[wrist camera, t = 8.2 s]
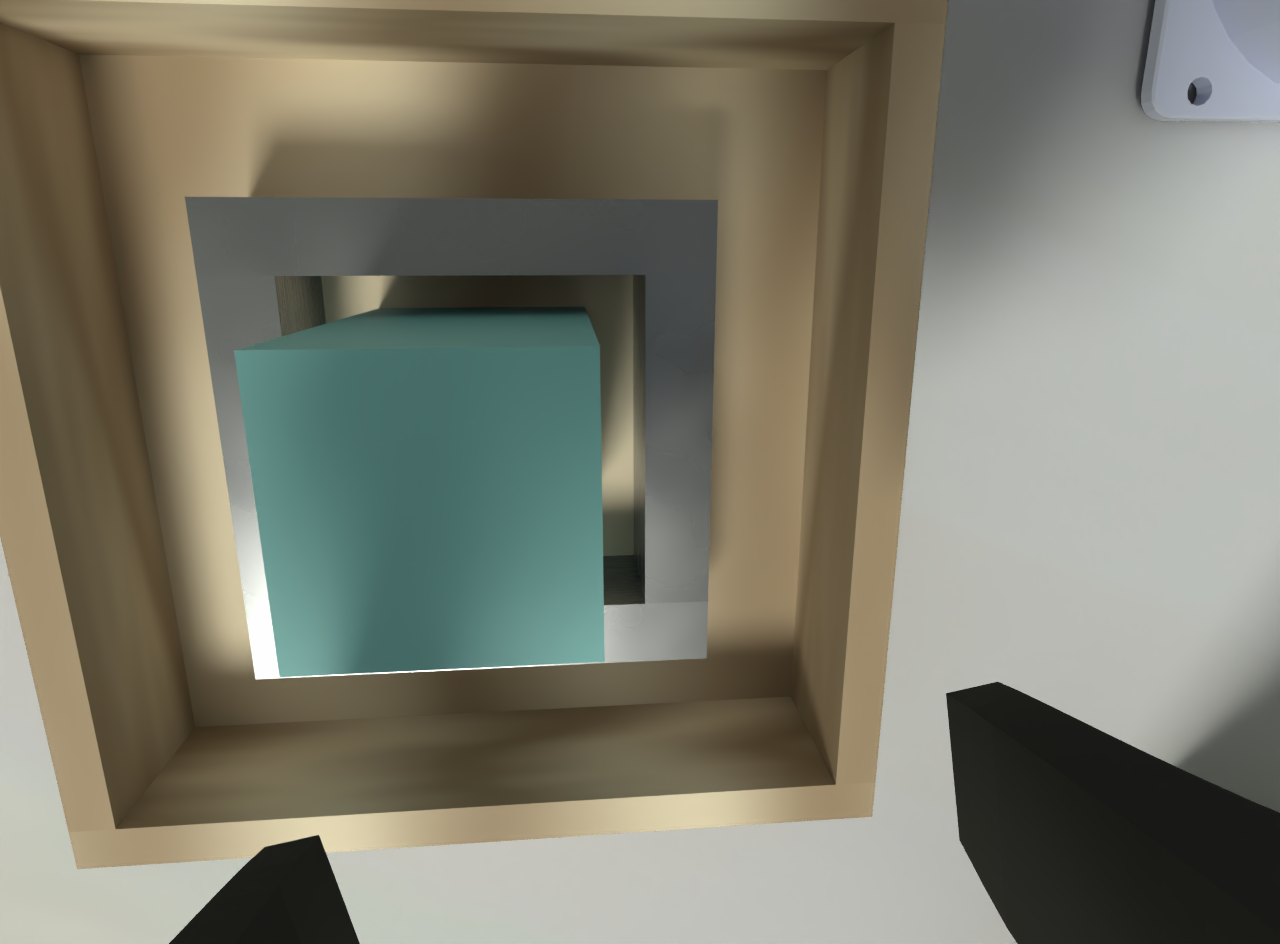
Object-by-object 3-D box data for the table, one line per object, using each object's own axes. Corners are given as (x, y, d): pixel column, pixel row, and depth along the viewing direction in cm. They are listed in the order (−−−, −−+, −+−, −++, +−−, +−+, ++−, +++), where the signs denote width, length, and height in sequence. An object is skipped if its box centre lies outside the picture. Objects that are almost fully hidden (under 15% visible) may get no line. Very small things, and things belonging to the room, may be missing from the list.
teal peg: (584, 306, 16) (599, 345, 9) (588, 498, 17) (604, 661, 10) (379, 308, 15) (234, 350, 9) (396, 504, 16) (279, 677, 10)
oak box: (855, 35, 16) (951, -36, 12) (811, 705, 20) (872, 817, 16) (49, 14, 14) (-142, -74, 10) (180, 739, 18) (76, 868, 14)
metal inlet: (694, 207, 15) (718, 199, 13) (687, 603, 18) (706, 658, 15) (246, 206, 15) (185, 196, 12) (299, 618, 17) (255, 679, 14)
